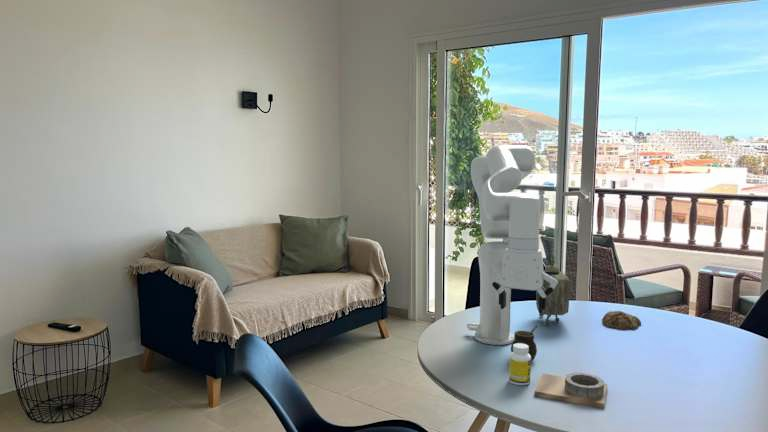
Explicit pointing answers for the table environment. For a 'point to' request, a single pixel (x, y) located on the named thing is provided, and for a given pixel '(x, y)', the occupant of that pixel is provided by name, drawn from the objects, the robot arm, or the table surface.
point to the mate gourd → (526, 341)
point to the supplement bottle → (520, 365)
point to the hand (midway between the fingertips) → (521, 309)
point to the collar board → (561, 394)
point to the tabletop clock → (555, 293)
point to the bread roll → (621, 320)
